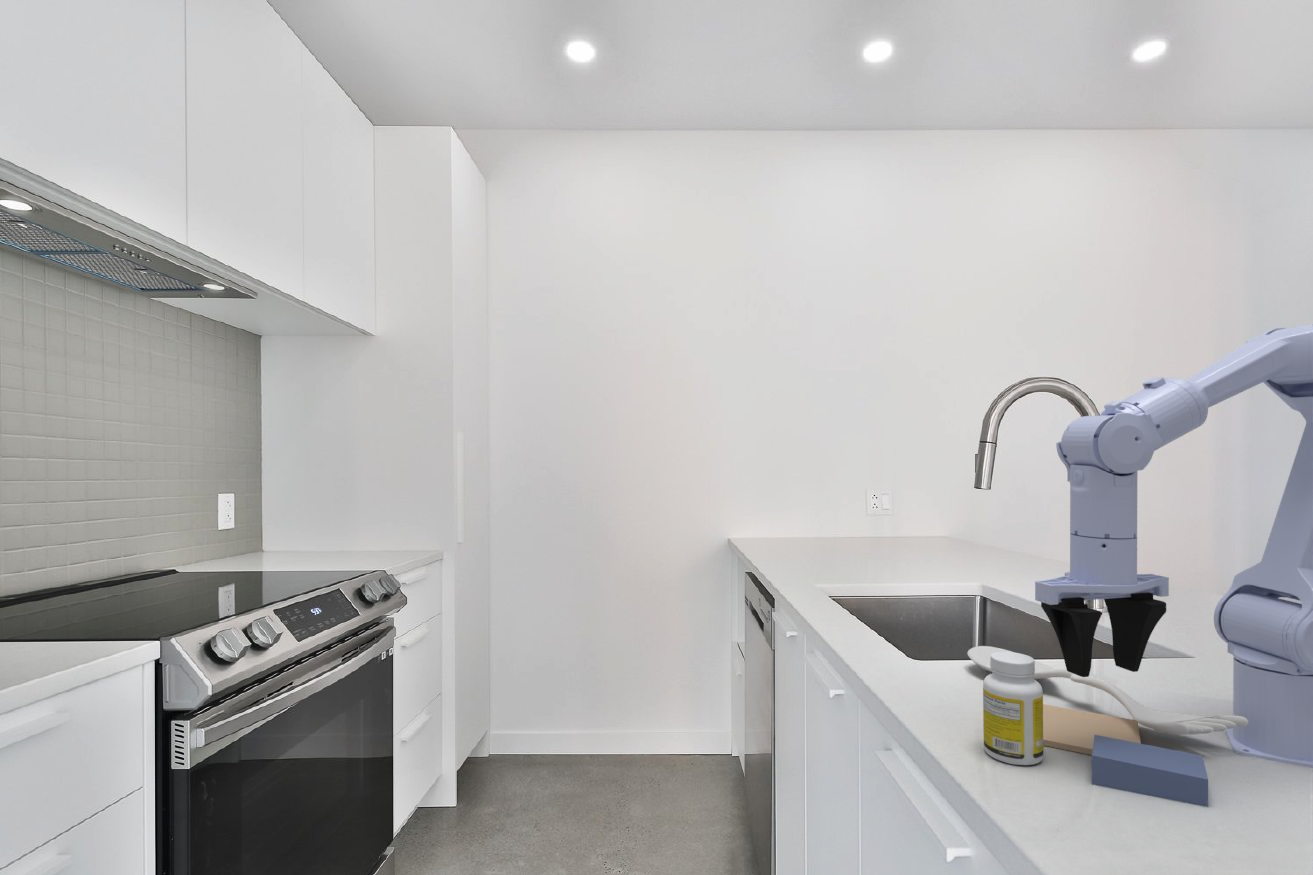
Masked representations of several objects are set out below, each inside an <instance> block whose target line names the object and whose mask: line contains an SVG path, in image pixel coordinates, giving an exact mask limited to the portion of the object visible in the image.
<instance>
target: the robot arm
mask: <svg viewBox="0 0 1313 875" xmlns="http://www.w3.org/2000/svg"><path fill="white" fill-rule="evenodd" d="M1262 383H1263V384H1264V385H1265V386H1266V387H1267V388H1268V389H1270V390H1271V391H1272V392H1273V393H1274V394H1275V395H1276V396H1278V397H1279V398H1280V399H1281V400H1282V401H1283V402H1284V403H1285V404H1286V405H1287V406H1289V407H1290V409H1292V410H1294V411H1297V412H1299V413H1300V415H1301V417H1303V419H1304V420H1305V422H1306V423H1305V427H1304V429H1303V432H1302V435H1301V439H1300V440H1299V444H1298V447H1297V450H1296V454H1295V457H1294V460H1293V463H1292V466H1291V468H1290V472H1289V476H1288V478H1287V481H1286V485H1285V488H1284V490H1283V494H1282V497H1281V500H1280V503H1279V505H1278V509H1277V511H1276V515H1275V517H1274V520H1273V523H1272V526H1271V529H1270V533H1269V536H1268V539H1267V543H1266V546H1265V548H1264V551H1263V555H1262V558H1261V561H1260V562H1259V561H1258V563H1255V564H1254V565H1252V566H1250V567H1249V568H1245V569H1244V570H1242V571H1239V572H1238V573H1237V574H1235V575H1234V577H1233V580H1232V583H1231V586H1230V587H1229V589H1228V591H1227V592H1226V593H1225V594H1224V595H1223V596H1222V597H1221V598H1220V599H1219V600H1218V602H1217V604H1216V606H1215V608H1214V612H1213V613H1214V614H1213V624H1214V628H1215V631H1216V632H1217V634H1218V637H1220V639H1221V640H1222V641H1223V642H1225V643H1226V644H1227V653H1228V654H1230V655H1232V656H1233V657H1232V658H1233V662H1232V663H1233V664H1232V665H1233V670H1232V672H1233V674H1232V678H1233V679H1232V680H1233V681H1232V682H1233V684H1232V685H1233V687H1232V690H1233V691H1232V692H1233V694H1232V699H1233V700H1232V711H1233V712H1232V715H1235V716H1242V717H1245V718H1246V719H1247V720H1248V722H1249V723H1248V725H1247V726H1244V727H1240V726H1236V727H1235V728H1231V729H1226V730H1224V732H1225V734H1226V737H1227V739H1228V742H1229V744H1230V748H1231V750H1232V751H1233V753H1234V754H1236V755H1241V756H1246V757H1252V758H1256V759H1262V760H1268V761H1274V762H1278V763H1284V764H1289V765H1295V766H1300V767H1301V766H1302V767H1306V768H1310V769H1312V768H1313V324H1307V325H1300V326H1294V327H1280V328H1279V327H1277V328H1272V329H1269V330H1267V331H1265V332H1263V333H1262V334H1260V335H1256V336H1253V337H1250V338H1248V339H1246V342H1245V344H1243V345H1242V346H1240V347H1238V348H1237V349H1235V350H1234V351H1231V352H1230V353H1228V354H1226V355H1225V356H1223V357H1222V358H1220V359H1218V360H1217V361H1215V362H1213V363H1212V364H1210V365H1209V366H1206V367H1205V368H1203V369H1202V370H1200V371H1199V372H1197V373H1195V374H1194V375H1192V376H1190V377H1188V378H1187V379H1182V378H1180V377H1178V378H1177V377H1165V378H1164V377H1163V376H1162V377H1161V376H1160V377H1152V378H1149V379H1148V380H1145V381H1144V382H1142V386H1143V389H1141V390H1140V391H1138V392H1136V393H1134V394H1132V395H1130V396H1129V397H1126V398H1125V399H1123V400H1121V401H1120V400H1114V401H1113V400H1111V401H1110V402H1108V403H1106V404H1104V406H1103V407H1104V410H1102V412H1101V413H1100V414H1099V415H1084V416H1080V417H1077V418H1075V419H1073V420H1072V421H1071V422H1070V423H1069V424H1068V425H1067V426H1066V427H1067V428H1065V430H1064V432H1063V433H1062V436H1061V441H1059V442H1056V444H1055V445H1056V447H1055V448H1056V452H1057V454H1058V457H1059V459H1060V461H1061V462H1062V464H1063V465H1064V466H1065V468H1066V472H1067V482H1069V485H1070V486H1069V488H1070V490H1069V491H1070V492H1069V493H1070V494H1069V498H1070V499H1069V503H1070V504H1069V506H1070V507H1069V509H1070V510H1069V512H1070V513H1069V516H1070V517H1069V518H1070V519H1069V525H1070V526H1069V532H1070V533H1069V534H1070V535H1069V539H1070V540H1069V542H1070V543H1069V571H1065V572H1064V575H1063V576H1059V577H1054V578H1050V579H1045V580H1037V581H1034V583H1035V585H1034V587H1035V588H1034V589H1035V594H1034V596H1035V597H1034V600H1035V601H1036V602H1040V606H1041V609H1042V610H1043V612H1044V613H1045V614H1046V616H1047V619H1048V620H1049V622H1050V624H1051V626H1052V628H1053V629H1054V632H1055V635H1056V637H1057V640H1058V643H1059V646H1060V649H1061V653H1062V656H1063V659H1064V661H1063V662H1064V663H1065V669H1067V671H1068V672H1071V673H1073V674H1076V675H1078V676H1081V677H1089V674H1090V672H1091V668H1092V658H1093V643H1094V639H1095V638H1094V637H1095V634H1096V630H1097V626H1098V624H1099V621H1100V619H1101V617H1102V616H1103V612H1102V611H1100V610H1097V609H1094V608H1092V607H1091V608H1090V607H1088V605H1089V604H1088V603H1085V601H1093V600H1094V601H1095V600H1104V604H1105V607H1106V609H1107V613H1108V617H1109V621H1110V626H1111V634H1112V654H1113V660H1114V663H1115V664H1114V665H1115V666H1116V667H1118V668H1122V669H1124V670H1127V671H1130V672H1133V673H1135V672H1136V673H1137V672H1139V670H1140V668H1141V667H1140V666H1141V664H1142V660H1143V657H1144V654H1145V651H1146V648H1147V645H1148V642H1149V639H1150V638H1151V635H1152V633H1153V631H1154V629H1155V628H1156V626H1157V624H1158V623H1159V622H1160V620H1161V619H1162V617H1163V616H1164V615H1165V614H1166V613H1167V603H1166V602H1165V601H1163V600H1159V599H1155V598H1154V596H1156V597H1164V598H1165V597H1169V596H1170V595H1169V594H1170V593H1169V592H1170V591H1169V590H1170V588H1169V587H1170V586H1169V585H1170V579H1169V577H1167V576H1162V575H1160V574H1159V575H1158V574H1153V573H1147V574H1146V573H1139V574H1138V471H1142V470H1145V468H1146V467H1147V466H1148V465H1149V463H1150V462H1151V460H1152V458H1153V456H1154V454H1155V452H1156V451H1157V450H1159V449H1160V448H1162V447H1164V446H1166V445H1168V444H1170V443H1172V442H1173V441H1176V440H1178V439H1180V438H1181V437H1183V436H1185V435H1186V434H1188V433H1191V432H1193V431H1194V430H1196V429H1197V428H1200V427H1201V426H1202V425H1204V423H1205V422H1206V421H1207V418H1208V415H1209V414H1208V413H1209V408H1211V407H1214V406H1215V405H1218V404H1219V403H1222V402H1223V401H1225V400H1227V399H1231V398H1233V397H1234V396H1236V395H1239V394H1241V393H1244V392H1246V391H1247V390H1250V389H1252V388H1253V387H1256V386H1258V385H1260V384H1262ZM1281 598H1282V599H1281ZM1284 598H1288V599H1292V600H1296V601H1300V603H1298V602H1294V601H1291V600H1286V599H1284Z"/></svg>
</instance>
